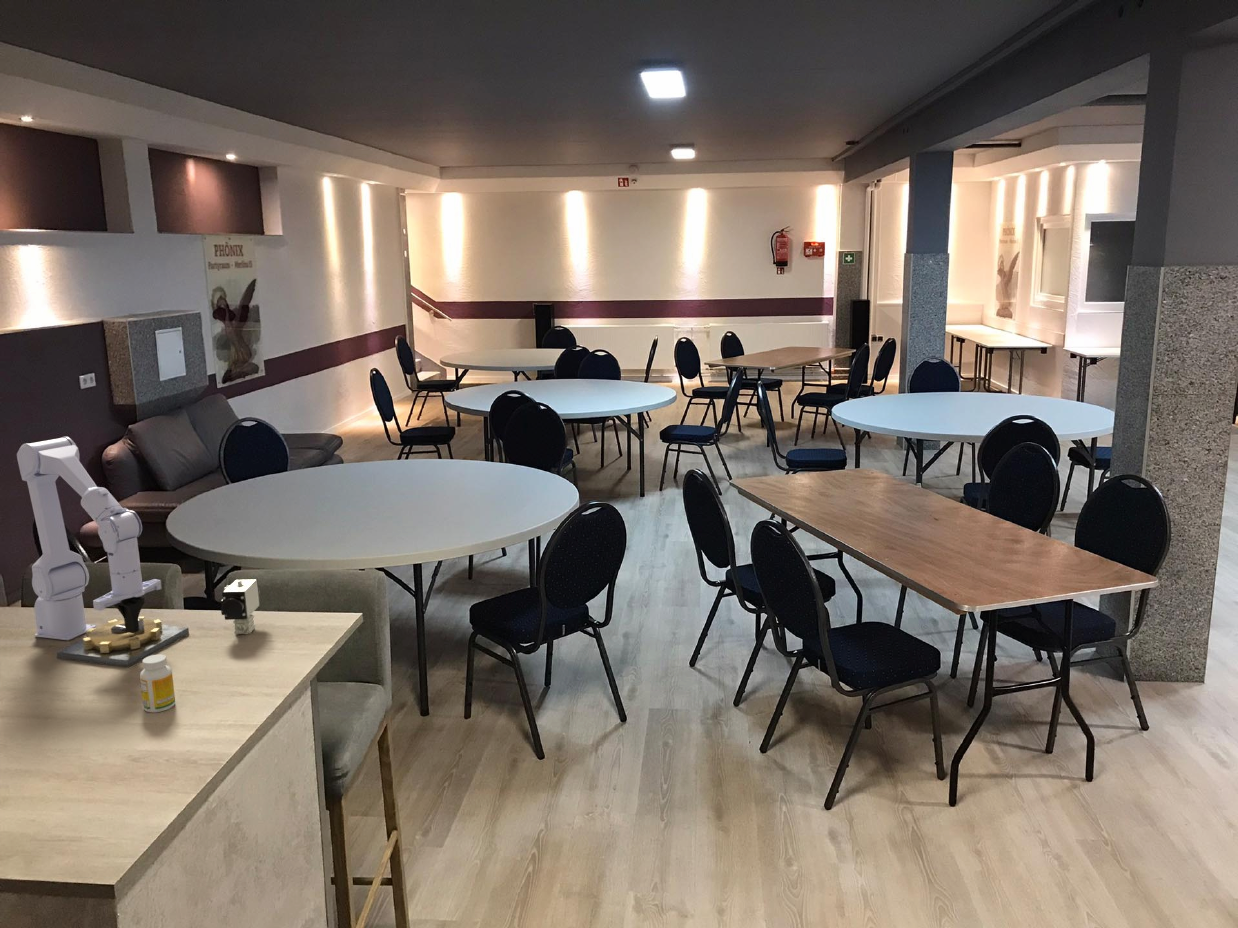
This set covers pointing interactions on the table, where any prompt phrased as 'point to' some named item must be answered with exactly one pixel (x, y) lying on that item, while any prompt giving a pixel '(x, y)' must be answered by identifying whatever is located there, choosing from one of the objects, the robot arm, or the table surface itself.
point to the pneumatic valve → (241, 604)
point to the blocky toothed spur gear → (121, 635)
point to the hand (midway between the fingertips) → (132, 631)
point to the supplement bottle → (157, 684)
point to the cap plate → (125, 655)
